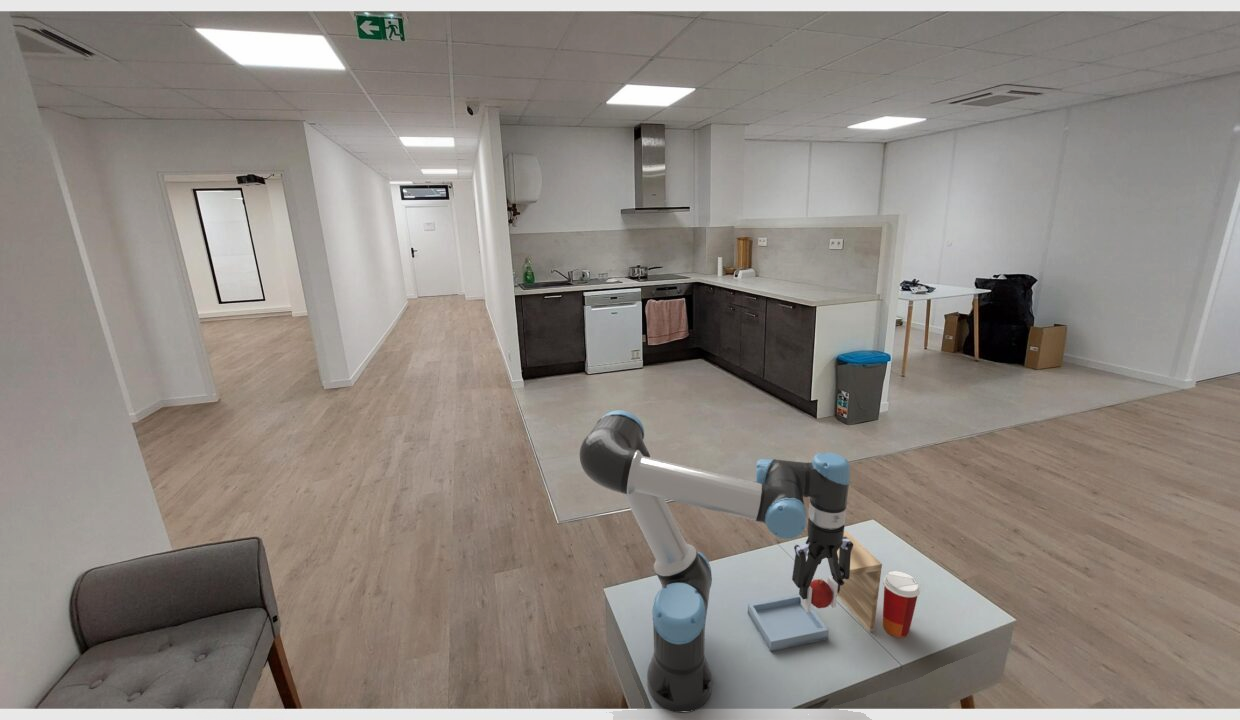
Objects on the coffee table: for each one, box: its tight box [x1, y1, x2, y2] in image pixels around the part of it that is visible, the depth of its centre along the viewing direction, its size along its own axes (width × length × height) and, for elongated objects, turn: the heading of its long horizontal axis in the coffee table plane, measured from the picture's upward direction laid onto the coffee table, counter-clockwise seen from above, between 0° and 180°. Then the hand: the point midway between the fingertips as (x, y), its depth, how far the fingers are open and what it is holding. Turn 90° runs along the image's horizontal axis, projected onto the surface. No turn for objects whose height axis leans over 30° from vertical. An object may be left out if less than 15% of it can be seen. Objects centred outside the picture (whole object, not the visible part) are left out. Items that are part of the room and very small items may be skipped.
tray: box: [747, 593, 829, 652], centre depth 129 cm, size 16×13×3 cm
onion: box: [810, 578, 833, 609], centre depth 114 cm, size 6×6×8 cm
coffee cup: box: [882, 570, 921, 639], centre depth 125 cm, size 8×8×15 cm
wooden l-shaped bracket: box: [837, 530, 883, 633], centre depth 130 cm, size 9×14×21 cm, turn 11°
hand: (818, 605), depth 115 cm, fingers closed on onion, 6 cm apart
